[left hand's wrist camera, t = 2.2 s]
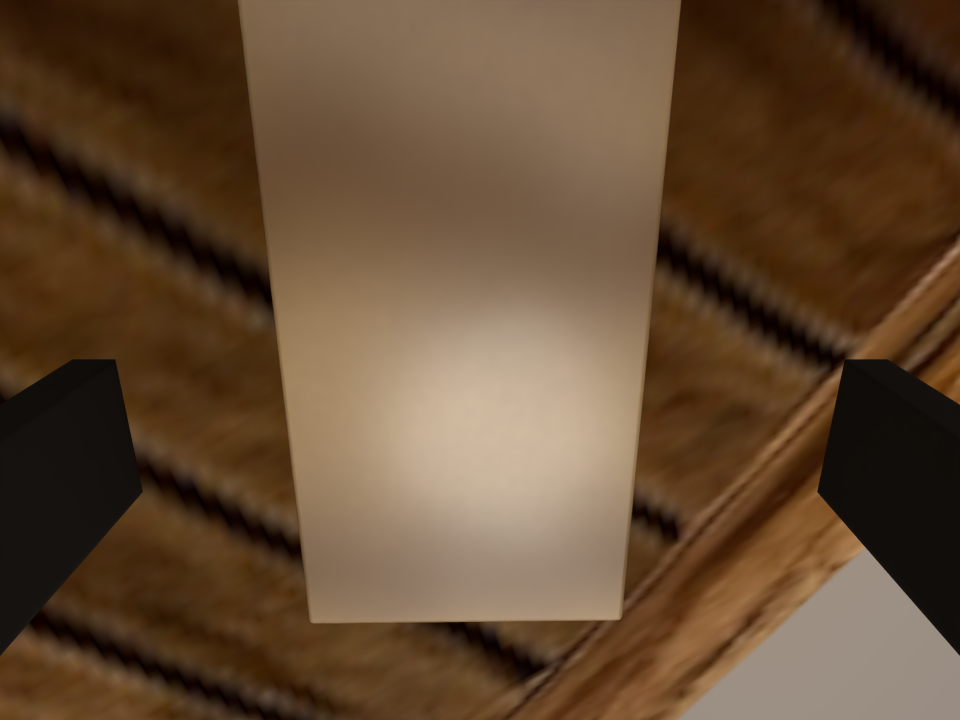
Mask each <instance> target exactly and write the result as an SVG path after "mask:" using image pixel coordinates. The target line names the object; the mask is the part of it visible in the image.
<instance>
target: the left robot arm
mask: <svg viewBox="0 0 960 720" xmlns="http://www.w3.org/2000/svg"><path fill="white" fill-rule="evenodd" d="M142 492H143V491H142V486H141V482H140V477H139V472H138V467H137V462H136V457H135V453H134V448H133V443H132V438H131V433H130V429H129V424H128V419H127V414H126V409H125V404H124V400H123V395H122V390H121V385H120V380H119V376H118V371H117V366H116V361H115V359H73V360H71V361H69V362H68V363H66V364H65V365H63V366H61V367H60V368H58V369H57V370H55V371H53V372H52V373H50V374H49V375H47V376H45V377H44V378H42V379H41V380H39V381H37V382H36V383H34V384H33V385H31V386H29V387H28V388H26V389H25V390H23V391H21V392H20V393H18V394H17V395H15V396H14V397H12V398H10V399H9V400H7V401H6V402H4V403H2V404H1V405H0V655H1V654H2V653H3V652H4V651H5V650H6V648H7V647H8V646H9V645H10V644H11V643H12V642H13V640H14V639H15V638H16V637H17V636H18V635H19V633H20V632H21V631H22V630H23V629H24V628H25V627H26V625H27V624H28V623H29V622H30V621H31V620H32V619H33V617H34V616H35V615H36V614H37V613H38V612H39V610H40V609H41V608H42V607H43V606H44V605H45V604H46V602H47V601H48V600H49V599H50V598H51V597H52V596H53V594H54V593H55V592H56V591H57V590H58V589H59V588H60V586H61V585H62V584H63V583H64V582H65V581H66V579H67V578H68V577H69V576H70V575H71V574H72V573H73V571H74V570H75V569H76V568H77V567H78V566H79V565H80V563H81V562H82V561H83V560H84V559H85V558H86V556H87V555H88V554H89V553H90V552H91V551H92V550H93V548H94V547H95V546H96V545H97V544H98V543H99V542H100V540H101V539H102V538H103V537H104V536H105V535H106V533H107V532H108V531H109V530H110V529H111V528H112V527H113V525H114V524H115V523H116V522H117V521H118V520H119V519H120V517H121V516H122V515H123V514H124V513H125V512H126V511H127V509H128V508H129V507H130V506H131V505H132V504H133V502H134V501H135V500H136V499H137V498H138V497H139V496H140V494H141V493H142ZM817 492H818V493H819V494H820V496H821V497H822V498H823V499H824V500H825V501H826V502H827V504H828V505H829V506H830V507H831V508H832V509H833V511H834V512H835V513H836V514H837V515H838V516H839V517H840V519H841V520H842V521H843V522H844V523H845V524H846V525H847V527H848V528H849V529H850V530H851V531H852V532H853V533H854V535H855V536H856V537H857V538H858V539H859V540H860V542H861V543H862V544H863V545H864V546H865V547H866V548H867V550H868V551H869V552H870V553H871V554H872V555H873V556H874V558H875V559H876V560H877V561H878V562H879V563H880V565H881V566H882V567H883V568H884V569H885V570H886V571H887V573H888V574H889V575H890V576H891V577H892V578H893V579H894V581H895V582H896V583H897V584H898V585H899V586H900V587H901V589H902V590H903V591H904V592H905V593H906V594H907V595H908V597H909V598H910V599H911V600H912V601H913V602H914V604H915V605H916V606H917V607H918V608H919V609H920V610H921V612H922V613H923V614H924V615H925V616H926V617H927V618H928V620H929V621H930V622H931V623H932V624H933V625H934V627H935V628H936V629H937V630H938V631H939V632H940V633H941V635H942V636H943V637H944V638H945V639H946V640H947V642H948V643H949V644H950V645H951V646H952V647H953V648H954V650H955V651H956V652H957V653H958V654H959V655H960V405H959V404H958V403H956V402H954V401H953V400H951V399H950V398H948V397H946V396H945V395H943V394H942V393H940V392H939V391H937V390H935V389H934V388H932V387H931V386H929V385H927V384H926V383H924V382H923V381H921V380H919V379H918V378H916V377H915V376H913V375H911V374H910V373H908V372H907V371H905V370H903V369H902V368H900V367H899V366H897V365H895V364H894V363H892V362H891V361H889V360H887V359H845V361H844V366H843V371H842V376H841V380H840V385H839V390H838V395H837V400H836V404H835V409H834V414H833V419H832V424H831V429H830V433H829V438H828V443H827V448H826V453H825V457H824V462H823V467H822V472H821V477H820V482H819V486H818V491H817Z"/></svg>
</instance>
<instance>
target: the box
mask: <svg viewBox="0 0 960 720" xmlns="http://www.w3.org/2000/svg"><path fill="white" fill-rule="evenodd" d="M238 8H239V17H240V26H241V34H242V43H243V51H244V60H245V69H246V77H247V86H248V94H249V103H250V112H251V120H252V129H253V138H254V146H255V155H256V163H257V172H258V181H259V189H260V198H261V207H262V215H263V224H264V232H265V241H266V250H267V258H268V267H269V275H270V284H271V293H272V301H273V310H274V319H275V327H276V336H277V344H278V353H279V362H280V370H281V379H282V388H283V396H284V405H285V413H286V422H287V431H288V439H289V448H290V456H291V465H292V474H293V482H294V491H295V500H296V508H297V517H298V525H299V534H300V543H301V551H302V560H303V568H304V577H305V586H306V594H307V603H308V612H309V619H310V622H311V623H384V622H481V621H578V620H619V619H621V617H622V609H623V599H624V589H625V578H626V568H627V558H628V547H629V537H630V526H631V516H632V506H633V495H634V485H635V475H636V464H637V454H638V443H639V433H640V423H641V412H642V402H643V392H644V381H645V371H646V360H647V350H648V340H649V329H650V319H651V309H652V298H653V288H654V277H655V267H656V257H657V246H658V236H659V226H660V215H661V205H662V194H663V184H664V174H665V163H666V153H667V143H668V132H669V122H670V111H671V101H672V91H673V80H674V70H675V60H676V49H677V39H678V28H679V18H680V8H681V0H238Z"/></svg>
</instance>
